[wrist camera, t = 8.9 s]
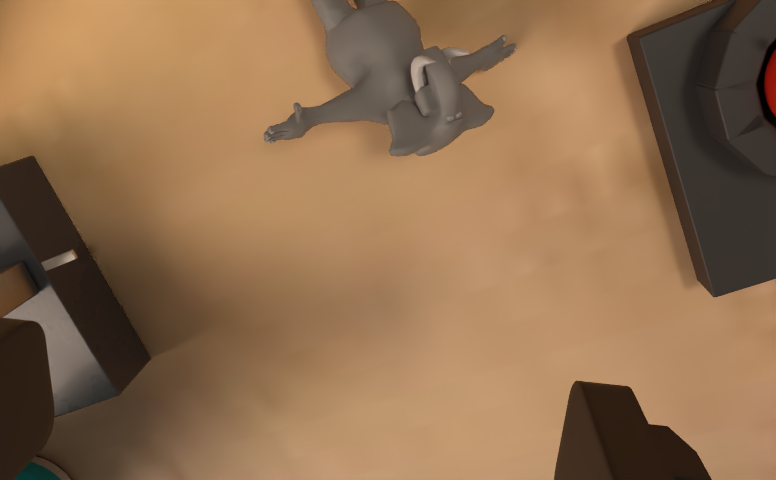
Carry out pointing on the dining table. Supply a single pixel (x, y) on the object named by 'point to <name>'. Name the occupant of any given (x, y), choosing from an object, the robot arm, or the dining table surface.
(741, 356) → the dining table surface
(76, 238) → the dial block
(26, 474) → the beverage can
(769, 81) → the button
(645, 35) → the box
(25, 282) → the grey rectangular plate
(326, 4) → the elephant figurine
